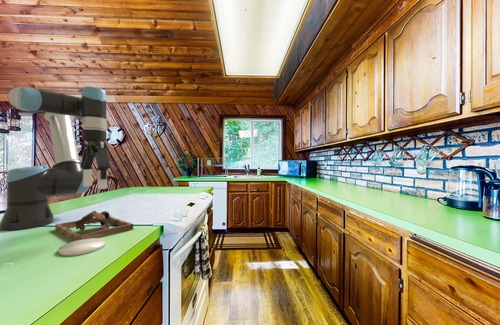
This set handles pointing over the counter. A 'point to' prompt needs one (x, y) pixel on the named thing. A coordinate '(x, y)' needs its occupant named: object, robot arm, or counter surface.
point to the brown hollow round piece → (88, 218)
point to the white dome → (82, 247)
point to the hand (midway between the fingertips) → (94, 187)
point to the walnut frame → (75, 236)
